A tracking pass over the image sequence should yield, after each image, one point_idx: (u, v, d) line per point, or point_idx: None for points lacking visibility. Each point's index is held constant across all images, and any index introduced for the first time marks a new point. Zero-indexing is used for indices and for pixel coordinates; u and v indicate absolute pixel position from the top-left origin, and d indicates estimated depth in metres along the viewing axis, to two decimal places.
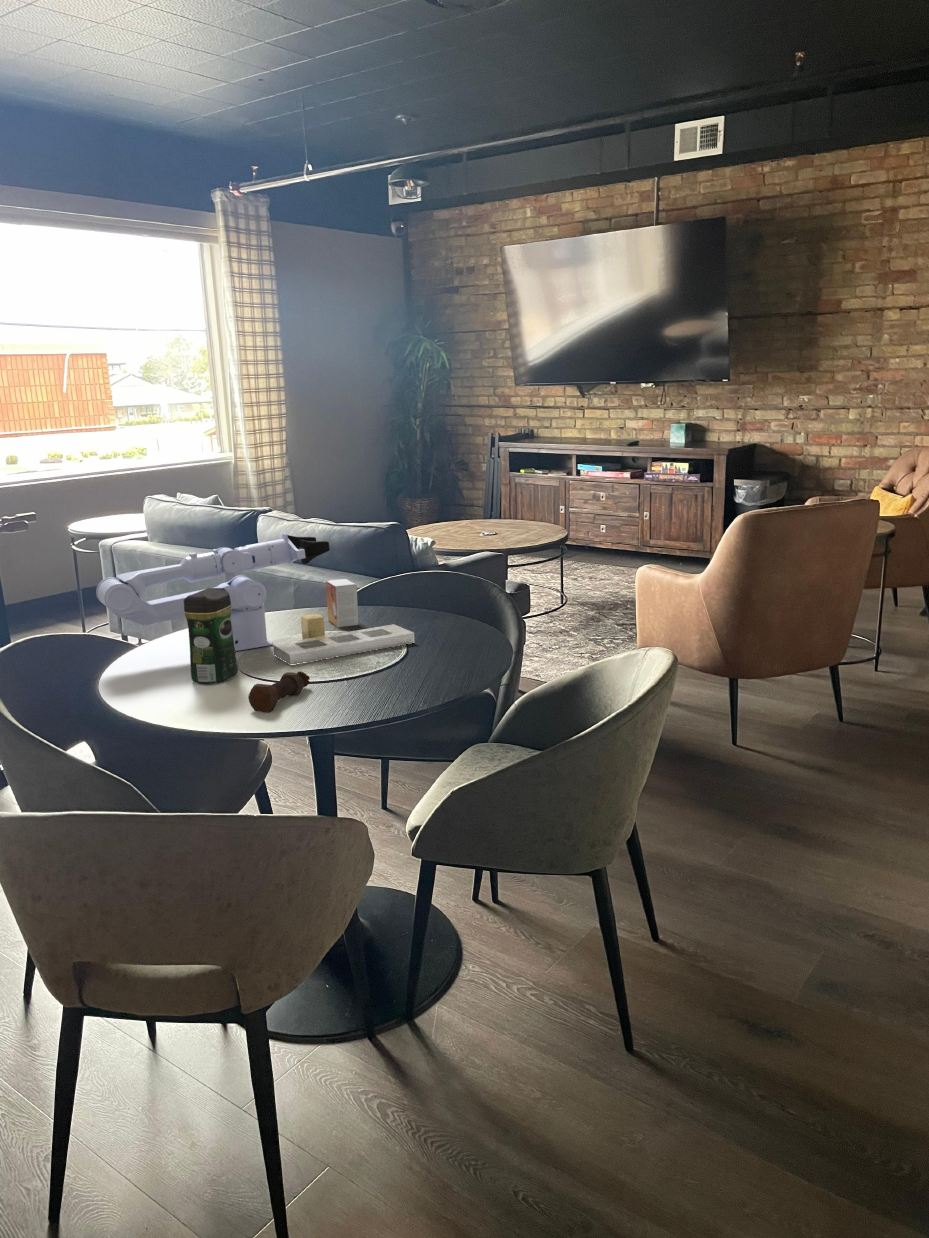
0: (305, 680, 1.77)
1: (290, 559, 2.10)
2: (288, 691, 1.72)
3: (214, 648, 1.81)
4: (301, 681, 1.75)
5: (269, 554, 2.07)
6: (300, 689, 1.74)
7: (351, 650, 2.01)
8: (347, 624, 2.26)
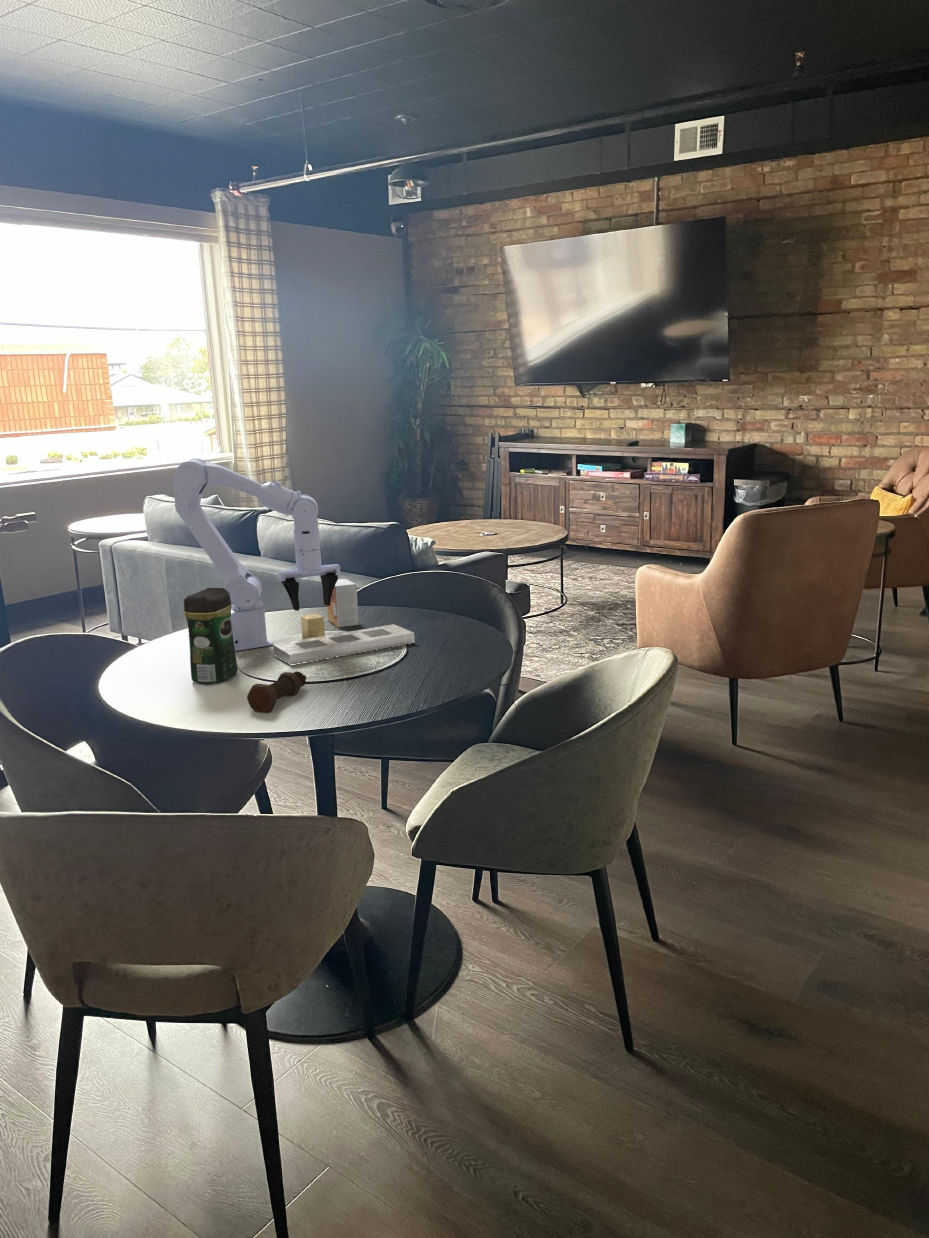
0: (302, 680, 1.77)
1: (296, 568, 2.09)
2: (286, 691, 1.71)
3: (214, 648, 1.81)
4: (299, 681, 1.75)
5: (308, 549, 2.05)
6: (298, 689, 1.74)
7: (351, 650, 2.01)
8: (347, 624, 2.26)
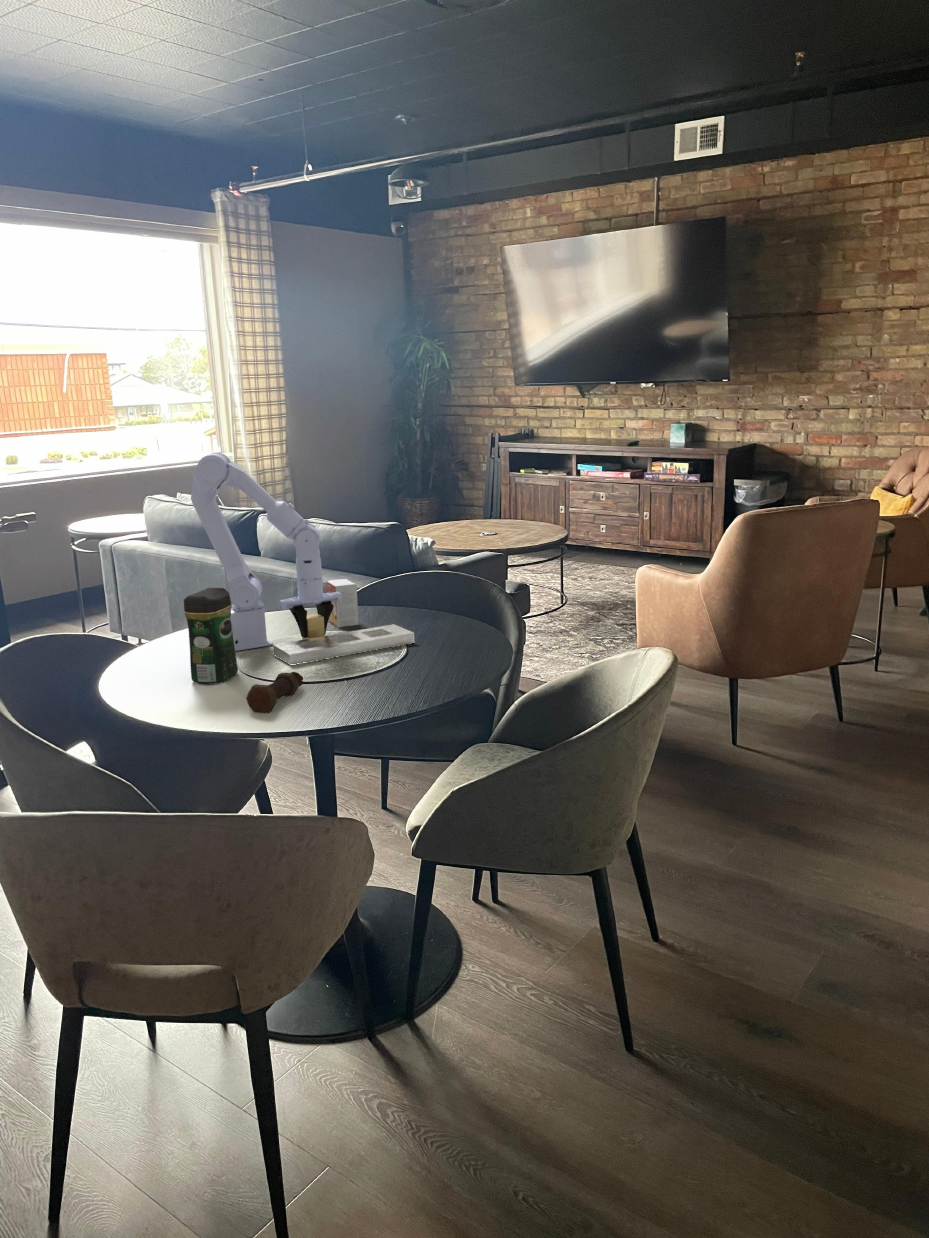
0: (299, 680, 1.77)
1: (298, 597, 2.11)
2: (284, 691, 1.71)
3: (214, 648, 1.81)
4: (296, 681, 1.75)
5: (310, 578, 2.07)
6: (295, 689, 1.74)
7: (351, 650, 2.01)
8: (347, 624, 2.26)
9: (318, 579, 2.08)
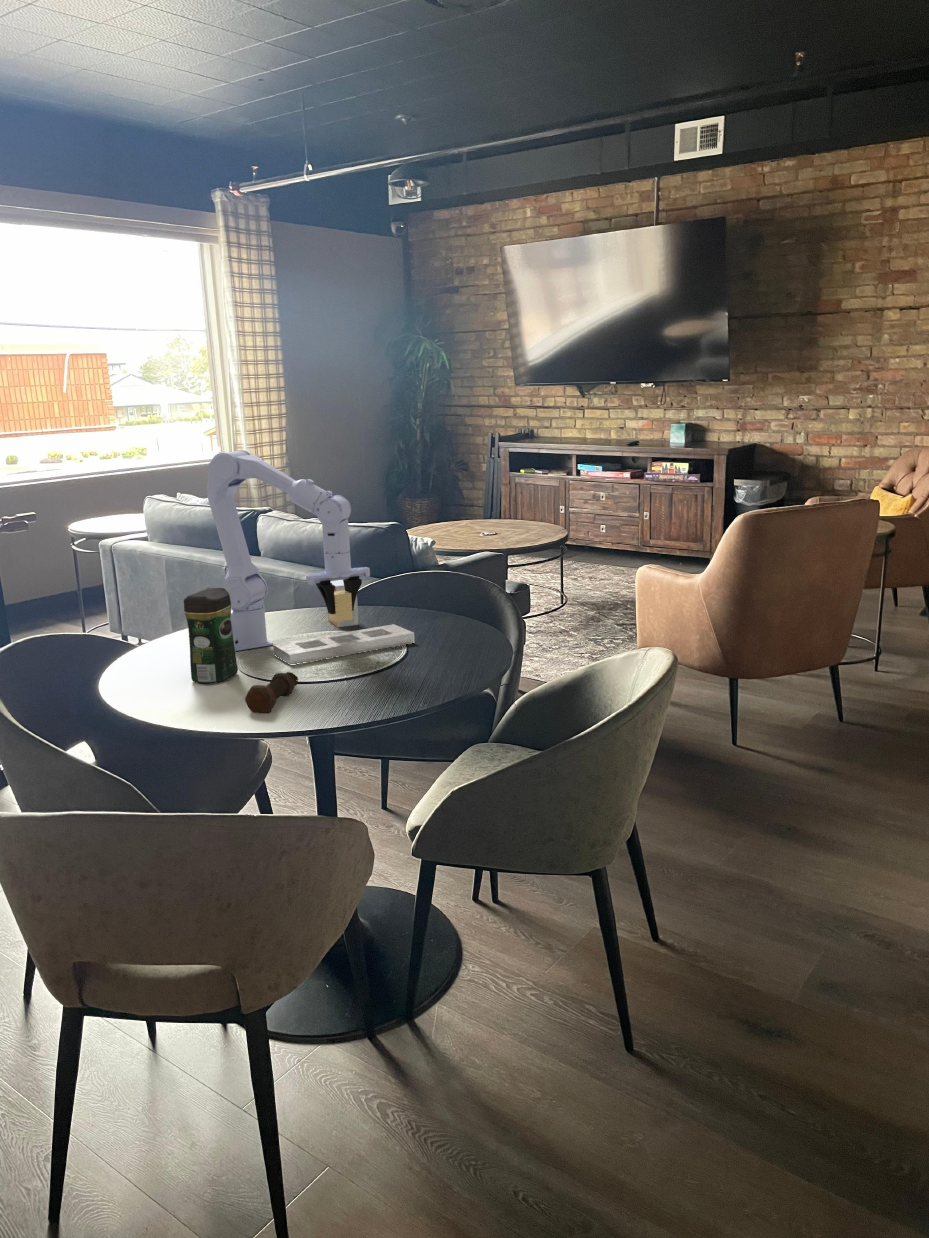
0: (294, 680, 1.77)
1: (324, 571, 2.02)
2: (282, 692, 1.71)
3: (214, 648, 1.81)
4: (292, 681, 1.75)
5: (333, 551, 1.98)
6: (292, 689, 1.74)
7: (351, 650, 2.01)
8: (347, 624, 2.26)
9: (346, 553, 2.00)
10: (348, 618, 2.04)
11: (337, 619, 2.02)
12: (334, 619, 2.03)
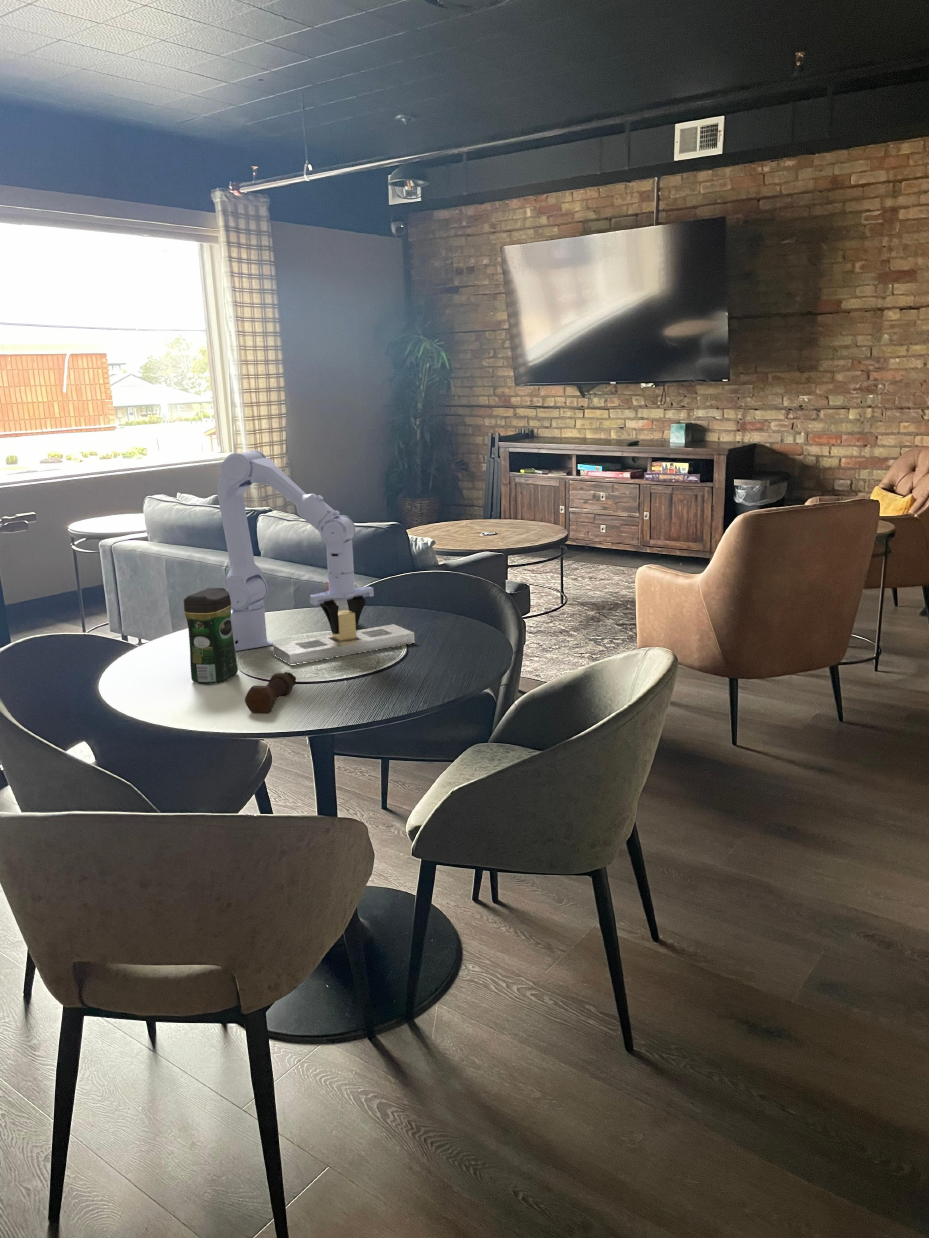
0: (293, 680, 1.77)
1: (328, 591, 2.03)
2: (281, 692, 1.71)
3: (214, 648, 1.81)
4: (291, 681, 1.75)
5: (337, 572, 1.99)
6: (290, 689, 1.74)
7: (351, 650, 2.01)
8: None
9: (350, 573, 2.00)
10: (352, 638, 2.04)
11: (341, 639, 2.03)
12: (338, 639, 2.03)
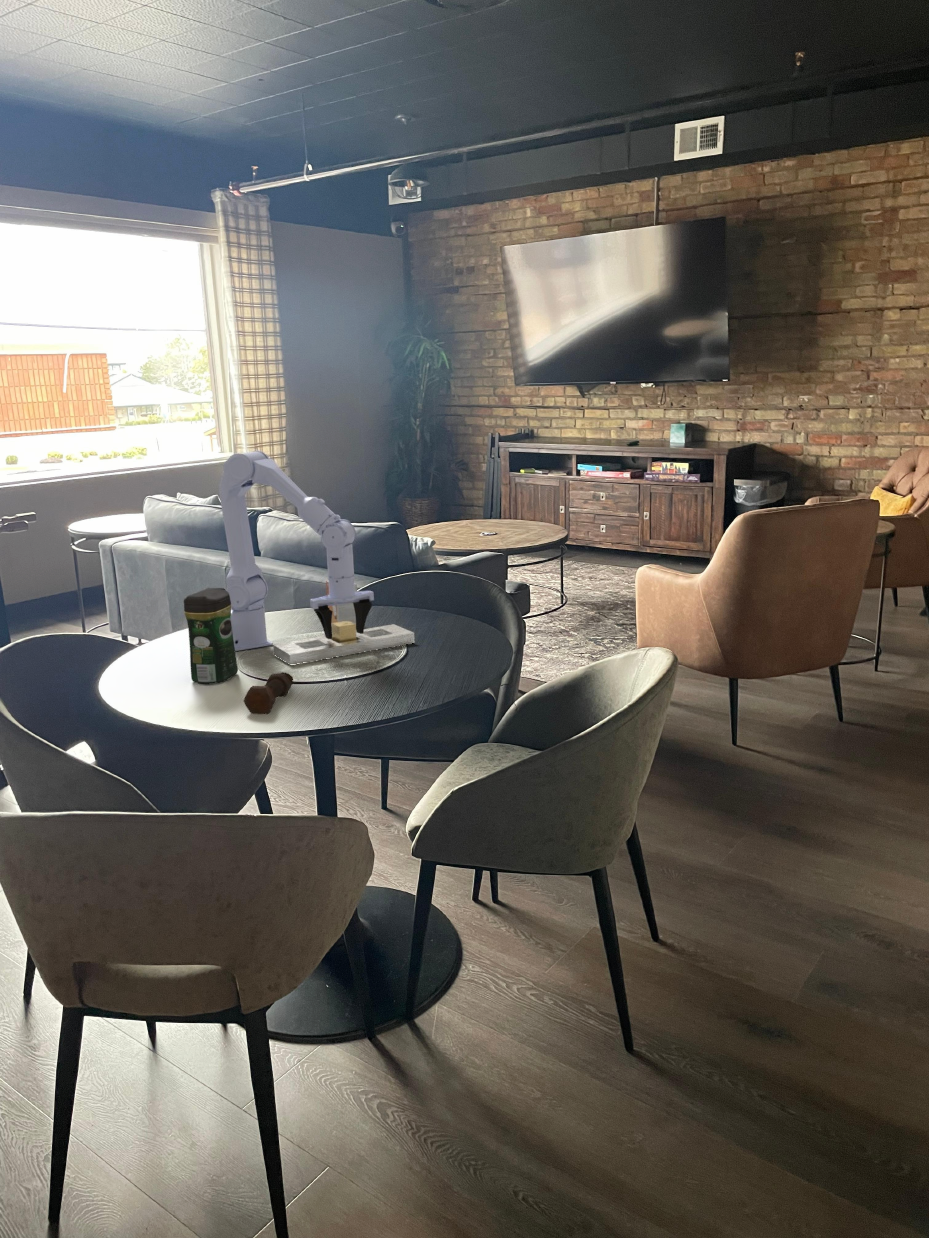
0: (290, 680, 1.77)
1: (329, 595, 2.03)
2: (279, 692, 1.71)
3: (214, 648, 1.81)
4: (289, 681, 1.75)
5: (337, 576, 1.99)
6: (288, 689, 1.74)
7: (351, 650, 2.01)
8: None
9: (350, 577, 2.00)
10: None
11: None
12: None
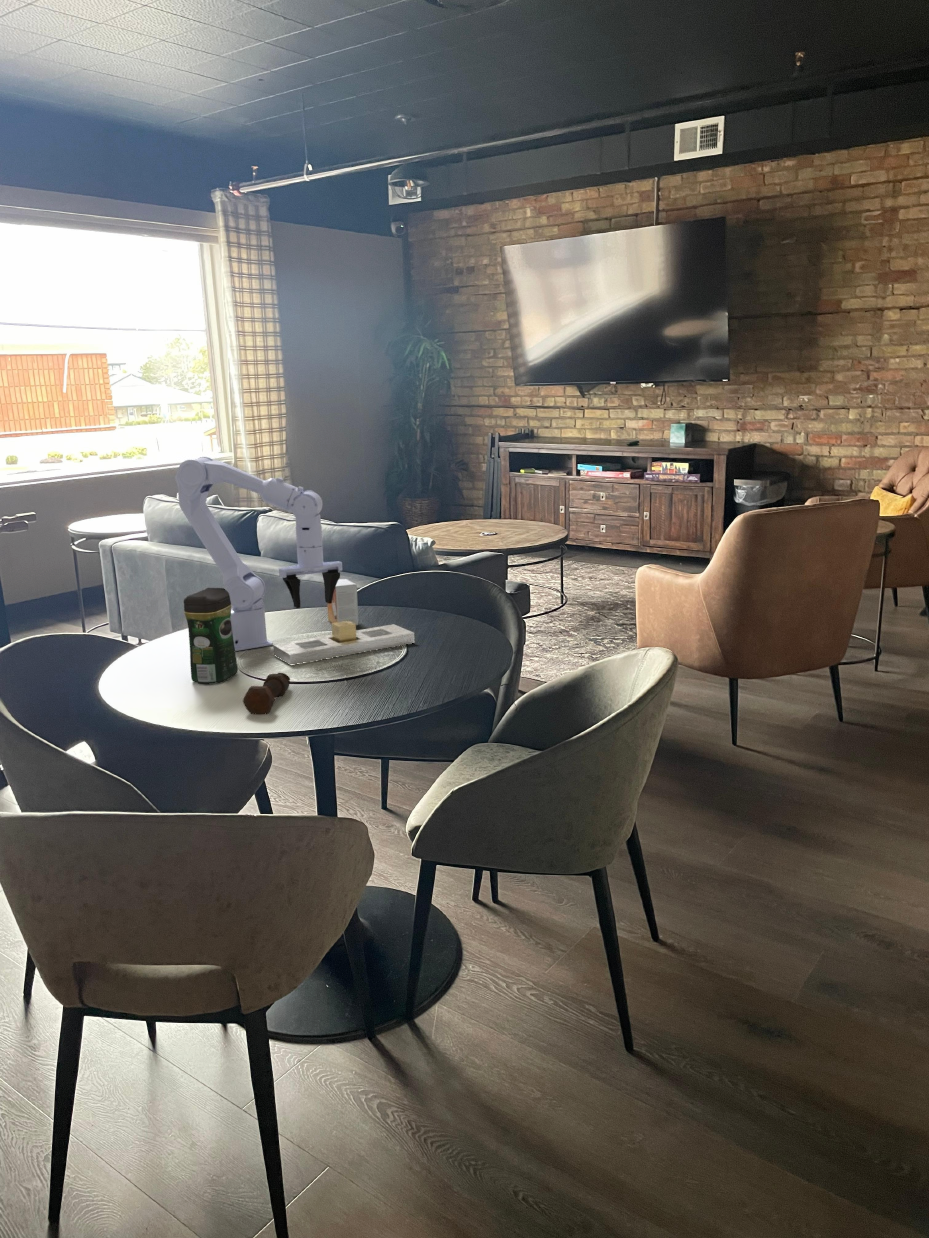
0: (287, 681, 1.77)
1: (297, 565, 2.06)
2: (277, 692, 1.71)
3: (214, 648, 1.81)
4: (286, 682, 1.74)
5: (308, 545, 2.02)
6: (286, 690, 1.74)
7: (351, 650, 2.01)
8: None
9: (318, 547, 2.03)
10: None
11: None
12: None
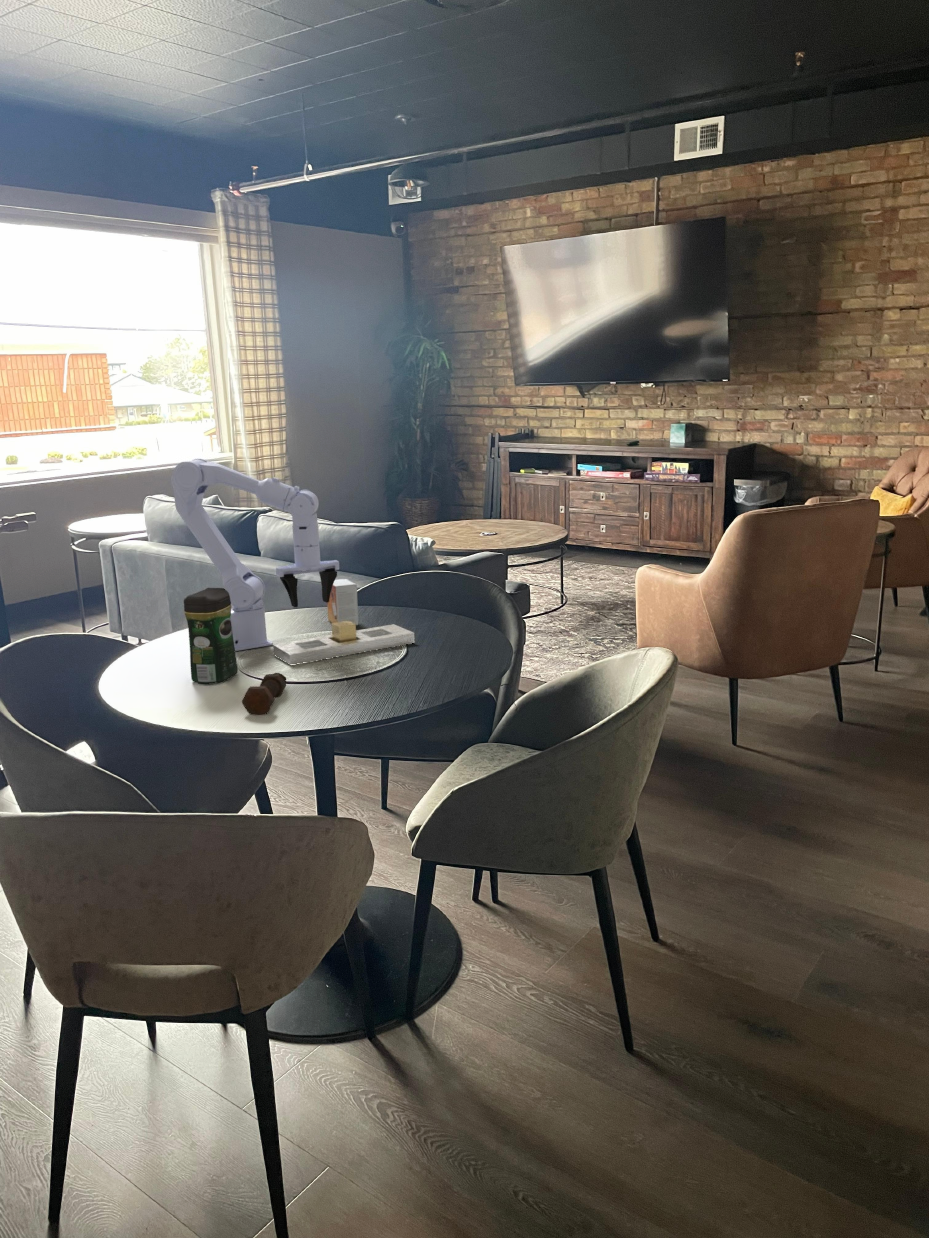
0: (284, 681, 1.77)
1: (294, 564, 2.07)
2: (275, 692, 1.71)
3: (214, 648, 1.81)
4: (283, 681, 1.74)
5: (305, 545, 2.03)
6: (283, 690, 1.74)
7: (351, 650, 2.01)
8: None
9: (315, 546, 2.04)
10: None
11: None
12: None
